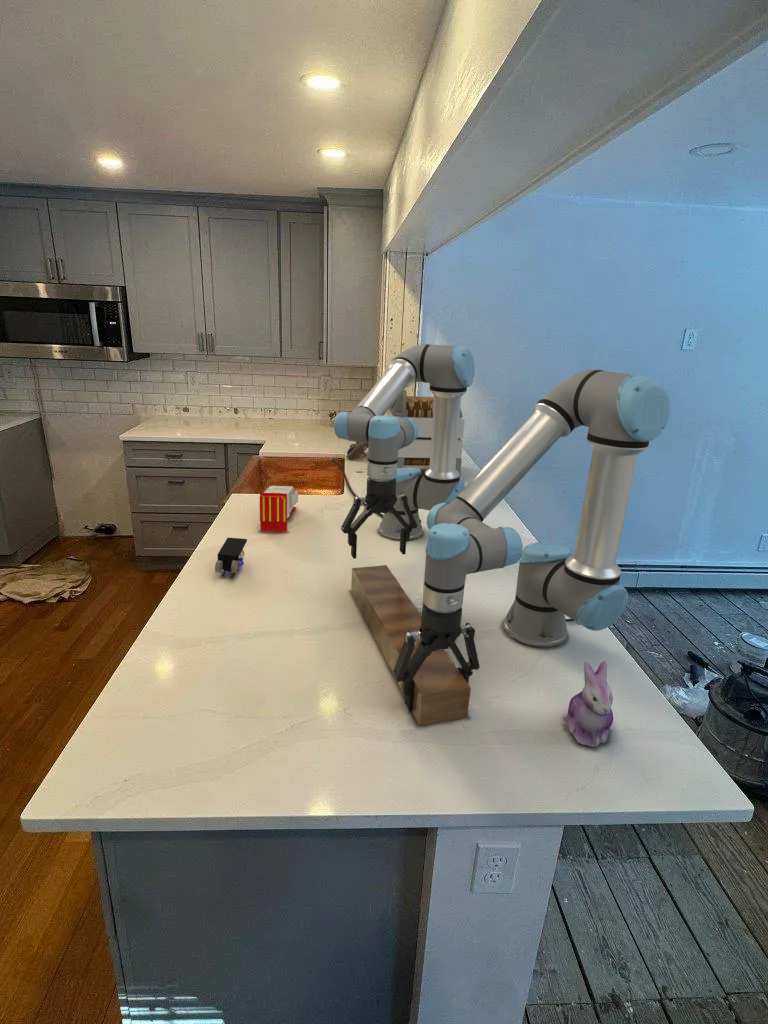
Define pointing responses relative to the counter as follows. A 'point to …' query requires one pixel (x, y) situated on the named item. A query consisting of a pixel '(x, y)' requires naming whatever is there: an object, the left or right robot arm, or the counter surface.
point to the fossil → (356, 450)
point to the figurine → (591, 708)
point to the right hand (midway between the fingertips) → (433, 702)
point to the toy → (277, 507)
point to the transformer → (420, 430)
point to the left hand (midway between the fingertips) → (378, 554)
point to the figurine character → (230, 556)
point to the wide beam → (389, 618)
